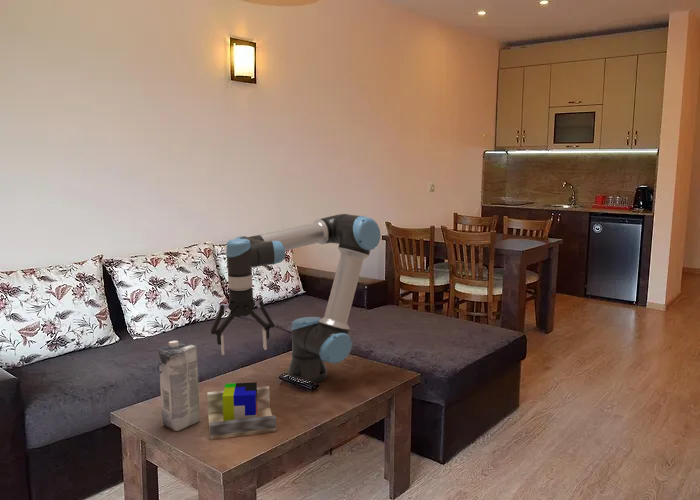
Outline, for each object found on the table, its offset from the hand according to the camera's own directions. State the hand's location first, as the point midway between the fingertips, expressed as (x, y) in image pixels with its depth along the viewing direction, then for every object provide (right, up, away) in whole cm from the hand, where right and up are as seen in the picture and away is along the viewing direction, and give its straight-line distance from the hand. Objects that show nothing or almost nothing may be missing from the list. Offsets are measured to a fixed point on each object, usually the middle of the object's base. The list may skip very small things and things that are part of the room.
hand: (244, 351), depth 190 cm
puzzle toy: (0, -21, -3) cm, 22 cm away
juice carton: (-19, -23, -4) cm, 30 cm away
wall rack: (0, -22, -4) cm, 23 cm away
